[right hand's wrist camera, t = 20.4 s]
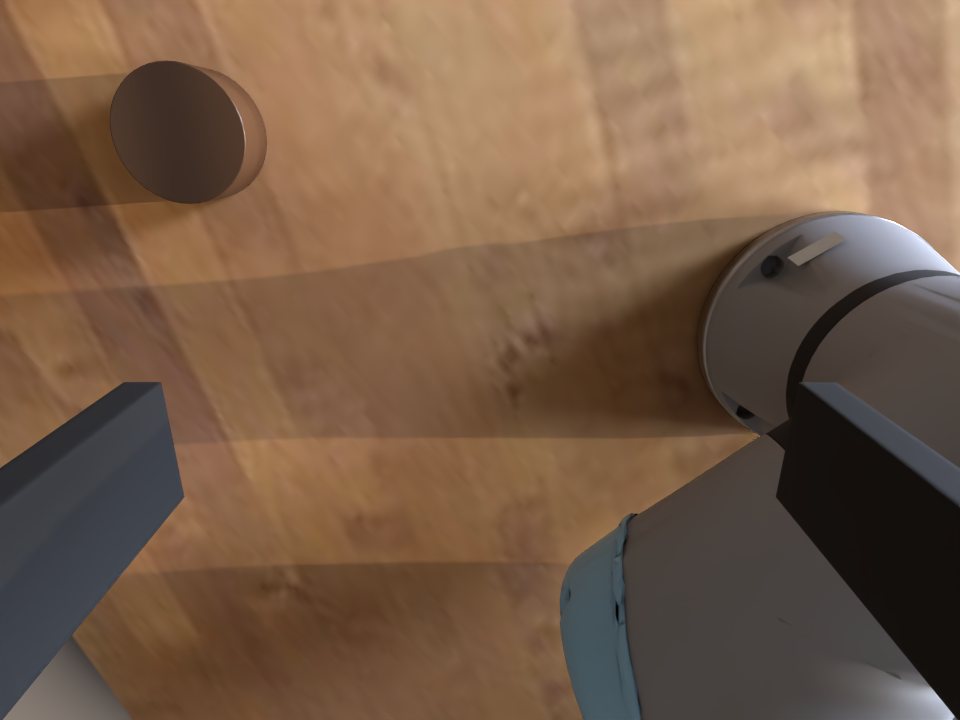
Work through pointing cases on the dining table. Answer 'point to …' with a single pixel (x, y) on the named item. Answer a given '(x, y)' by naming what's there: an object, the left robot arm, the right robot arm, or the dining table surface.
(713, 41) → the dining table surface
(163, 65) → the brown cylinder
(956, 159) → the dining table surface
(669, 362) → the dining table surface
